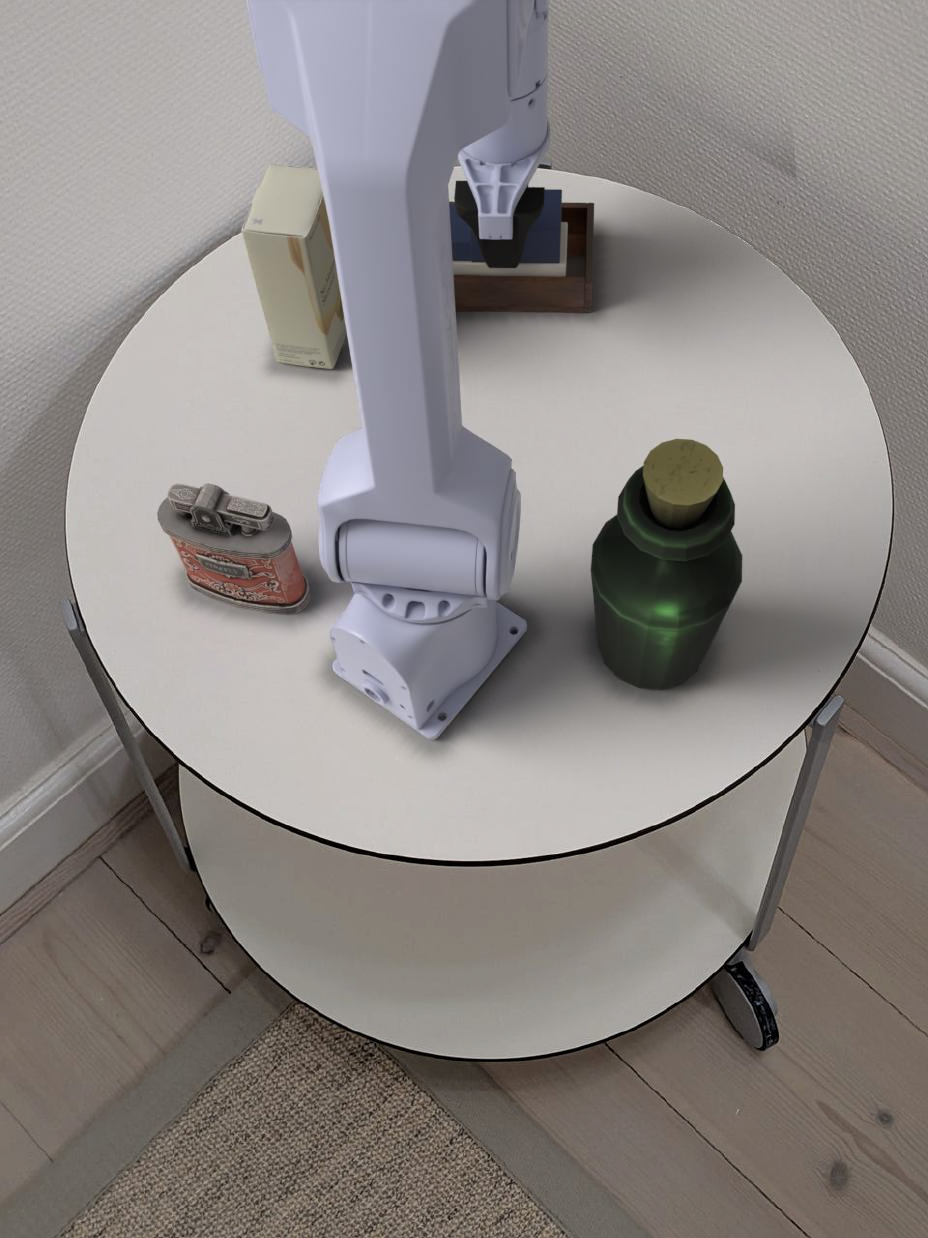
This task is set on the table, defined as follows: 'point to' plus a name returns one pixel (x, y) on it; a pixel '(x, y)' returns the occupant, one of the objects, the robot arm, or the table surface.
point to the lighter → (234, 549)
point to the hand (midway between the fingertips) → (504, 239)
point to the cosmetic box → (295, 266)
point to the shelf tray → (540, 291)
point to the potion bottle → (666, 567)
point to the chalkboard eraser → (539, 252)
